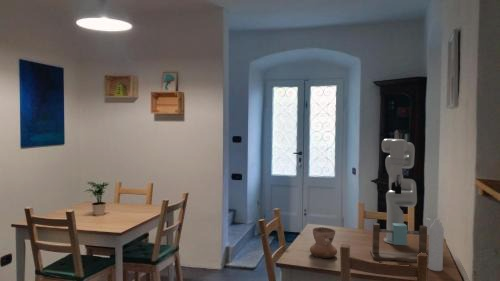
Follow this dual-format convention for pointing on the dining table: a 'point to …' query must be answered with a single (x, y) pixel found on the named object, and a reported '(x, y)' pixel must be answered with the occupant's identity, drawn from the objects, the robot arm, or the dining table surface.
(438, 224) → the water bottle
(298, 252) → the dining table surface
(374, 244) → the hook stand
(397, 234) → the saddle hanger
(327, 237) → the ceramic jug
